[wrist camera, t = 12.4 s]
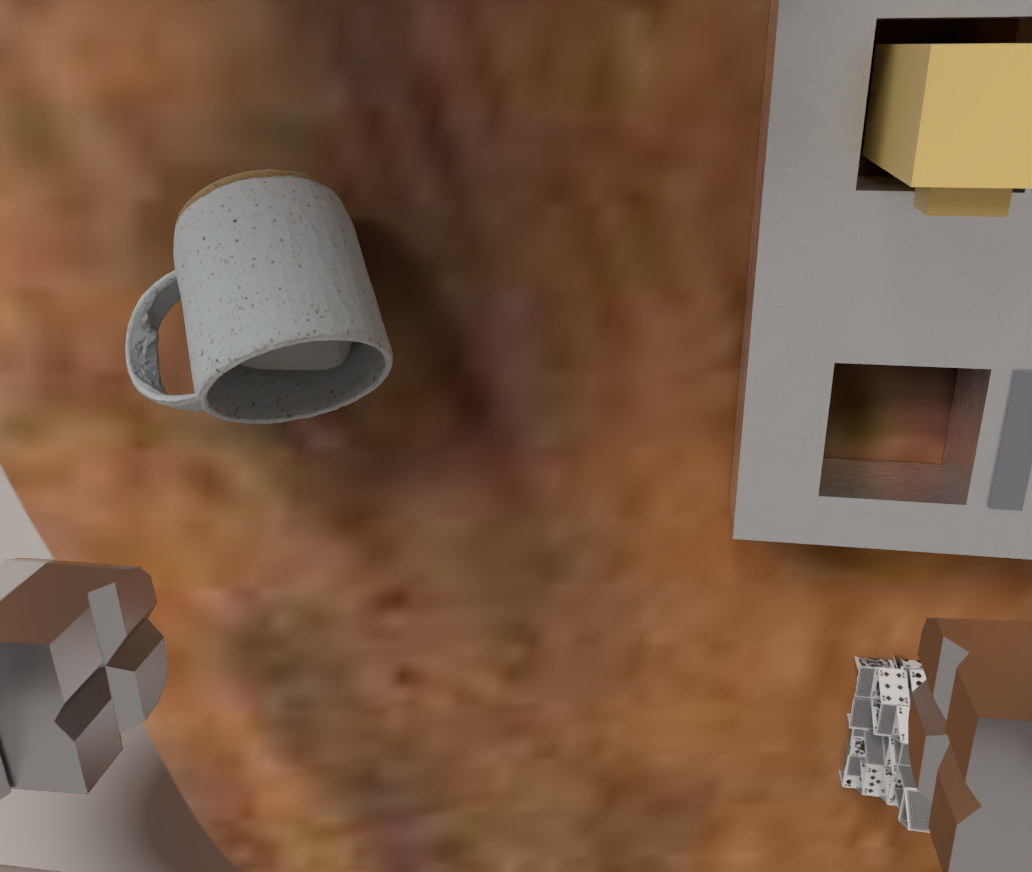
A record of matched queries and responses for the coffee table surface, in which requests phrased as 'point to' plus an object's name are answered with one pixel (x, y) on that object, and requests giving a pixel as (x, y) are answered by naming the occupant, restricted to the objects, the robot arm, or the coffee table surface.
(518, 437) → the coffee table surface
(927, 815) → the house of cards
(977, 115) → the plug
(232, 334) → the ceramic mug
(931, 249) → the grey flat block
